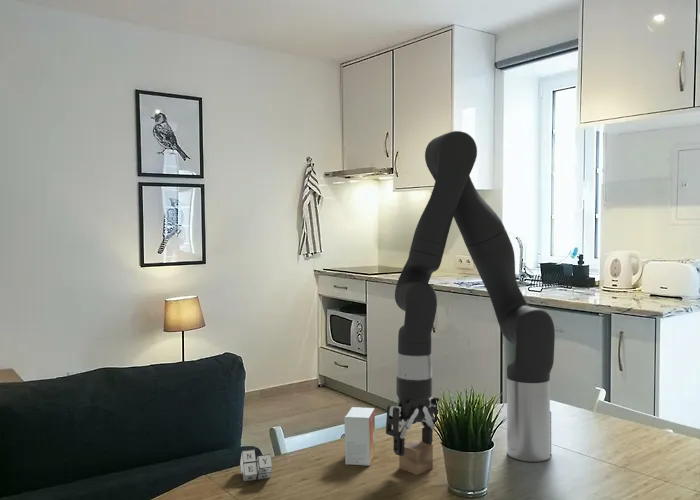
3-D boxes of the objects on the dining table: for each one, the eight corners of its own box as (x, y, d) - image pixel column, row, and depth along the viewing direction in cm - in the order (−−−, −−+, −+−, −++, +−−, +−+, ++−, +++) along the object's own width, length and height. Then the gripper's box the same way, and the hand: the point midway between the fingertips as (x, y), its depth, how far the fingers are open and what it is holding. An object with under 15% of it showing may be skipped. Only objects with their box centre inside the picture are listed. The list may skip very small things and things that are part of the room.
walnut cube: (415, 462, 133) (415, 439, 132) (432, 468, 129) (432, 445, 129) (399, 468, 129) (399, 445, 129) (416, 475, 126) (416, 451, 125)
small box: (370, 466, 130) (369, 418, 130) (344, 465, 131) (343, 416, 131) (375, 453, 138) (375, 407, 138) (351, 452, 139) (351, 406, 139)
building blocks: (242, 487, 125) (245, 470, 120) (240, 462, 129) (242, 444, 123) (268, 483, 127) (272, 466, 121) (265, 459, 130) (269, 441, 125)
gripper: (403, 382, 121) (403, 463, 121) (449, 372, 130) (448, 447, 131) (377, 376, 127) (376, 453, 127) (423, 367, 136) (422, 438, 136)
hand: (413, 450), depth 129 cm, fingers open, 8 cm apart
